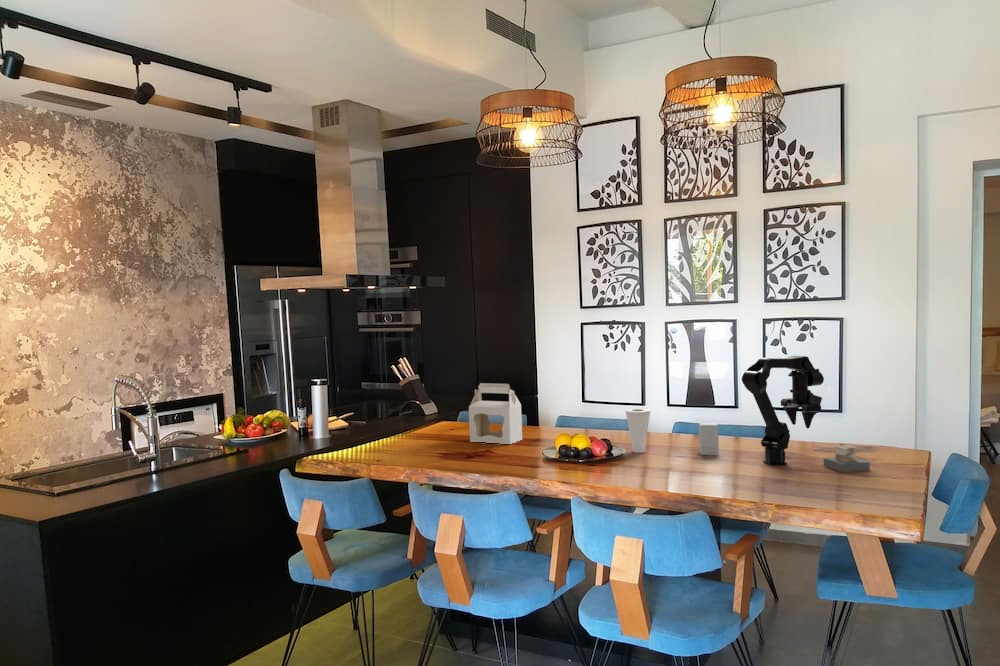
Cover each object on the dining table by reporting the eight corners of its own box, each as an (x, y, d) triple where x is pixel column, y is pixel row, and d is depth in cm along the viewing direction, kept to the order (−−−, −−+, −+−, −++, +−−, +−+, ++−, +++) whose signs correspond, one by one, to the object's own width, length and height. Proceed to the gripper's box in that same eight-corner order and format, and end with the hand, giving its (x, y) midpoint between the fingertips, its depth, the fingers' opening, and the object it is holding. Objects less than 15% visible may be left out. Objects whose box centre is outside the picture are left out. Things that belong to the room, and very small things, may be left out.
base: (842, 472, 256) (842, 464, 256) (823, 465, 267) (823, 458, 267) (869, 470, 258) (869, 462, 258) (849, 463, 269) (849, 456, 269)
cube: (844, 462, 260) (844, 448, 260) (835, 459, 265) (835, 446, 265) (856, 461, 261) (856, 447, 261) (847, 458, 266) (847, 445, 265)
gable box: (469, 442, 338) (467, 384, 337) (482, 437, 350) (480, 381, 349) (510, 445, 328) (508, 385, 327) (522, 440, 340) (521, 382, 339)
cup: (652, 454, 298) (651, 412, 298) (626, 454, 300) (625, 412, 299) (650, 449, 309) (649, 408, 308) (626, 449, 310) (625, 408, 310)
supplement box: (719, 455, 292) (718, 425, 291) (700, 455, 293) (699, 425, 293) (717, 451, 299) (716, 422, 298) (699, 451, 300) (698, 422, 300)
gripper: (833, 388, 272) (834, 428, 272) (804, 383, 290) (805, 421, 291) (807, 390, 270) (808, 430, 270) (779, 385, 288) (780, 423, 289)
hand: (800, 426), depth 280 cm, fingers open, 9 cm apart
